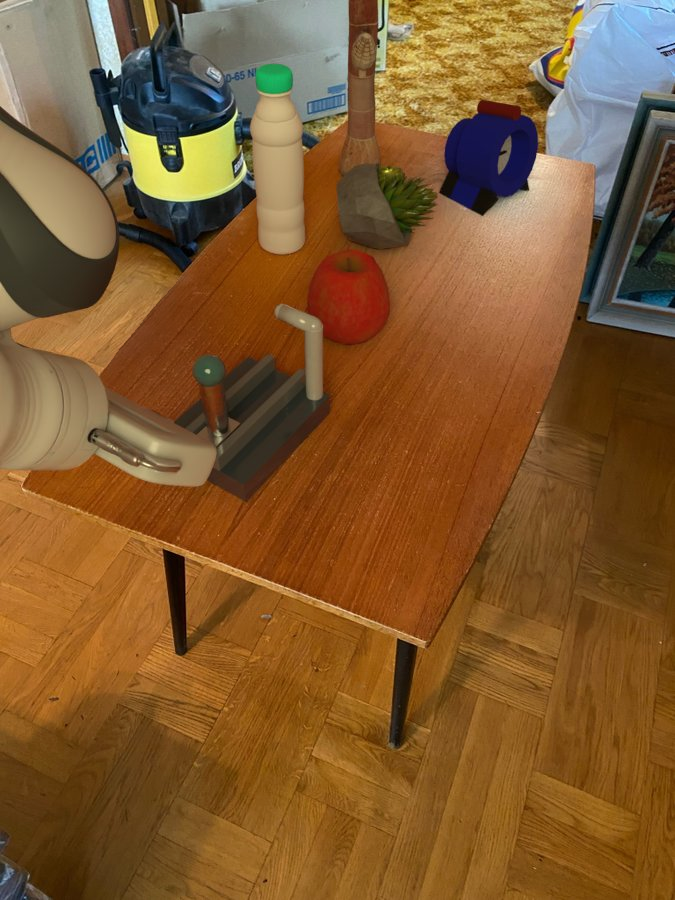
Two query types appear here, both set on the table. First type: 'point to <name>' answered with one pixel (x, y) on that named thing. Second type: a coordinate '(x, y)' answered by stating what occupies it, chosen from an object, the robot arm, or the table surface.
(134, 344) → the table surface
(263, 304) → the table surface
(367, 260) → the apple
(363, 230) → the potted plant
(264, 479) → the tap base
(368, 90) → the brown carved wooden post
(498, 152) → the alarm clock
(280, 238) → the water bottle
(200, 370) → the tap handle
